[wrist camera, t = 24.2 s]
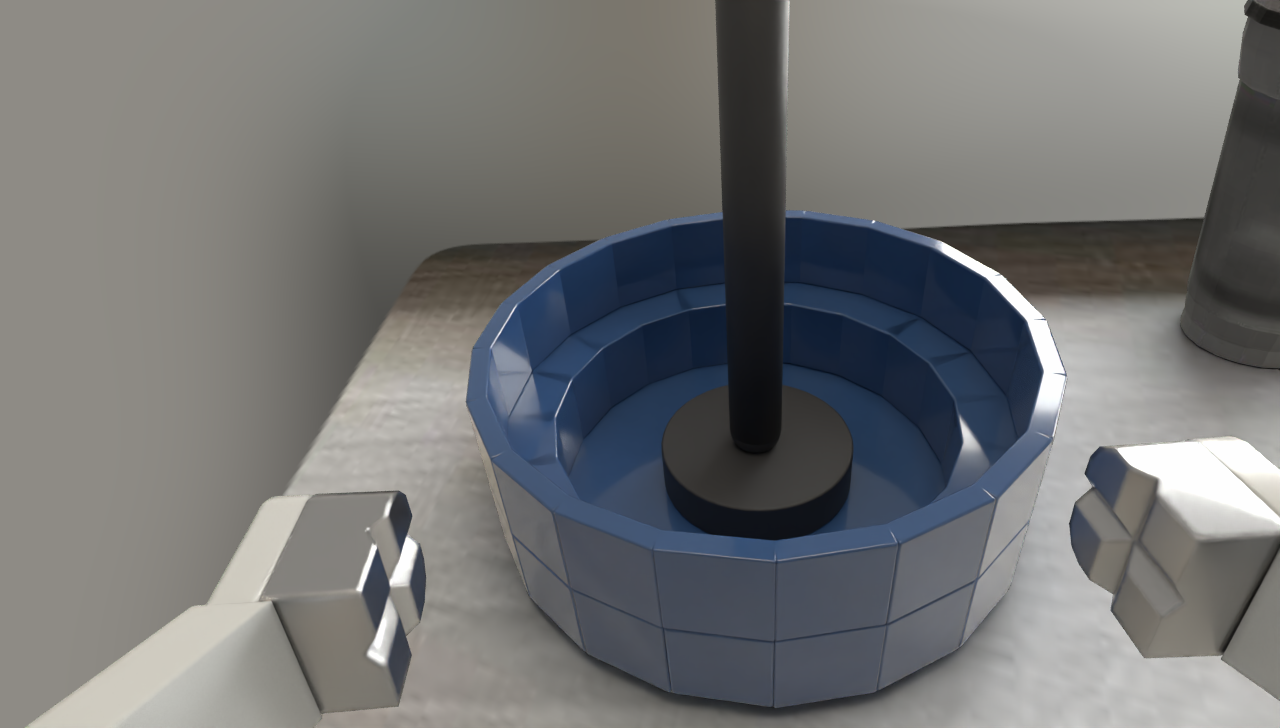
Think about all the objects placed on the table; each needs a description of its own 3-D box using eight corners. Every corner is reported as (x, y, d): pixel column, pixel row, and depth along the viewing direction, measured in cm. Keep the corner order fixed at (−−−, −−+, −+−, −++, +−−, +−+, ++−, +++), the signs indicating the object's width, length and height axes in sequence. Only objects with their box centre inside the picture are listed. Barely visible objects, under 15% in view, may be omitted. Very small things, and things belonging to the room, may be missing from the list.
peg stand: (648, 535, 24) (556, -178, 13) (680, 409, 28) (631, -192, 18) (851, 554, 23) (929, -219, 12) (850, 419, 27) (905, -223, 17)
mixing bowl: (427, 670, 21) (360, 520, 18) (581, 335, 34) (560, 208, 30) (1074, 763, 18) (1152, 600, 14) (978, 351, 30) (1006, 210, 27)
